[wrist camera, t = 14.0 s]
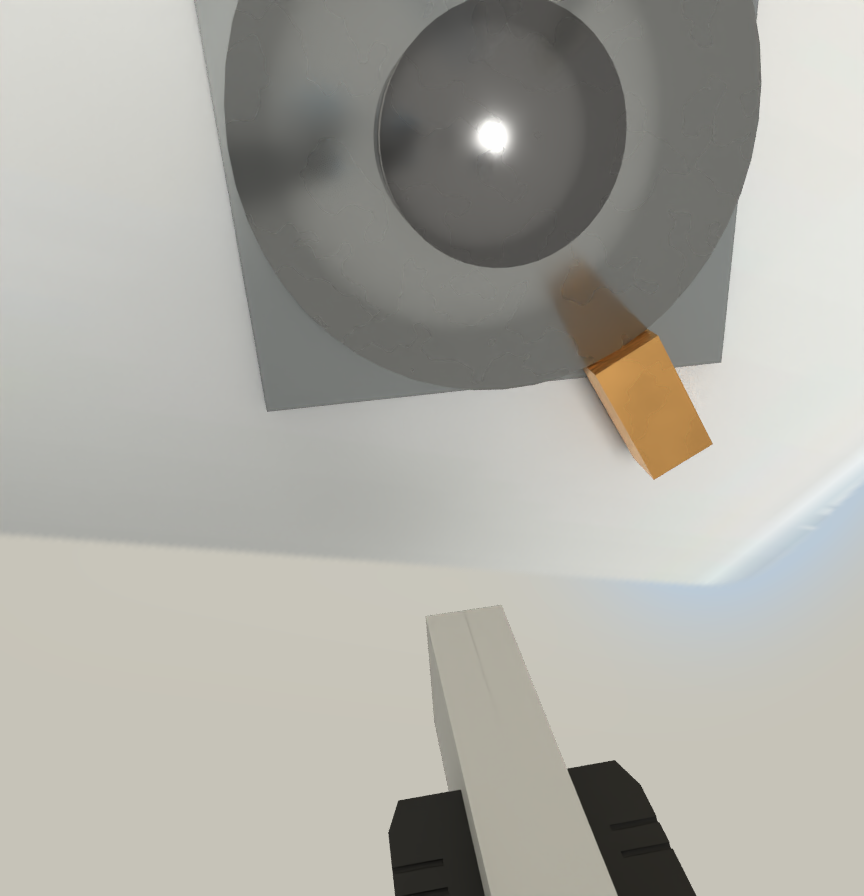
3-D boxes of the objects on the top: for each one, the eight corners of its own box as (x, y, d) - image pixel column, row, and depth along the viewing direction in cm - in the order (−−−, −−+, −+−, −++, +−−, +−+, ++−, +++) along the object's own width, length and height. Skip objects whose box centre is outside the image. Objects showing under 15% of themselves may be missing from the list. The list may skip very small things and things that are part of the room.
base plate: (268, 405, 32) (267, 411, 31) (164, -191, 23) (159, -201, 23) (712, 357, 34) (721, 362, 33) (768, -211, 25) (780, -221, 24)
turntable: (484, 549, 35) (494, 576, 33) (109, 38, 25) (87, 28, 22) (849, 325, 33) (886, 338, 30) (604, -346, 22) (633, -398, 20)
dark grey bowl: (451, 291, 28) (468, 314, 25) (328, 107, 25) (327, 101, 21) (622, 170, 27) (667, 175, 24) (516, -39, 24) (549, -70, 20)
